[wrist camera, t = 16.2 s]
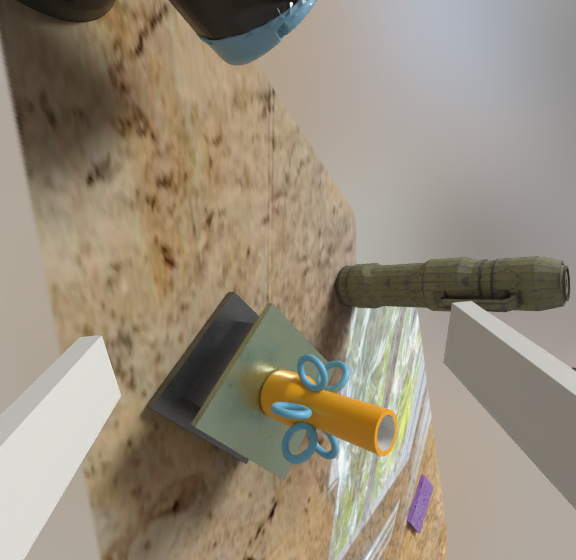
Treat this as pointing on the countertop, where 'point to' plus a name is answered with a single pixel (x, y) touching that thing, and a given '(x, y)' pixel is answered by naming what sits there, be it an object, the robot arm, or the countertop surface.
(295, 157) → the countertop surface
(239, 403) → the grey green pedestal stand
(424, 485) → the sponges
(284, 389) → the cylinder
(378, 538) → the countertop surface
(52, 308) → the countertop surface
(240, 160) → the countertop surface
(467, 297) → the thermos
